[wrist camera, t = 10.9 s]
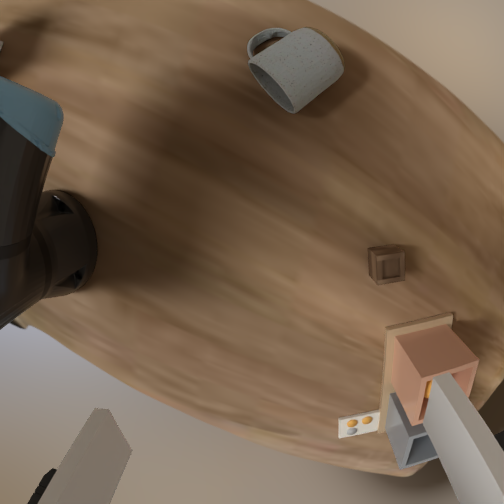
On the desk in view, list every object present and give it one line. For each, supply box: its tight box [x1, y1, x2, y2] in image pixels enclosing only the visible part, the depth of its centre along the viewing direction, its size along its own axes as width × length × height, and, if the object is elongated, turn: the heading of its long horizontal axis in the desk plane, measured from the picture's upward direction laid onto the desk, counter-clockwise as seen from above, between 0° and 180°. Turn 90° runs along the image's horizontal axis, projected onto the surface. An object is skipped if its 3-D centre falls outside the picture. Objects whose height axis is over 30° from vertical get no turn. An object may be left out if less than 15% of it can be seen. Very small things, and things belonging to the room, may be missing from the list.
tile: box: [338, 410, 380, 438], centre depth 46 cm, size 7×5×1 cm
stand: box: [368, 244, 405, 285], centre depth 36 cm, size 4×4×4 cm
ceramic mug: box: [247, 27, 345, 114], centre depth 29 cm, size 11×8×8 cm
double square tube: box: [377, 312, 479, 470], centre depth 38 cm, size 11×22×11 cm, turn 9°
